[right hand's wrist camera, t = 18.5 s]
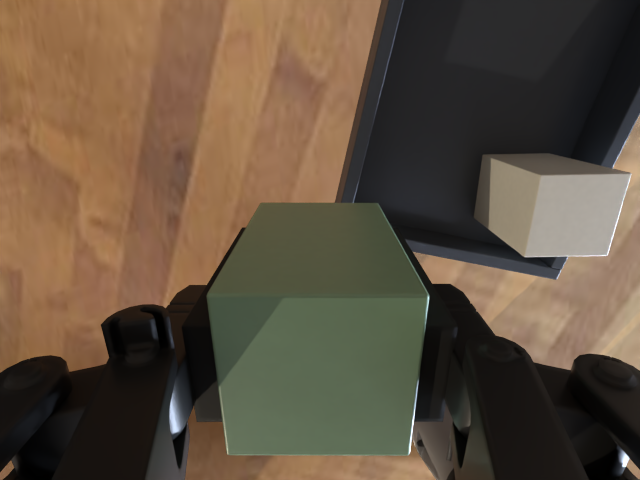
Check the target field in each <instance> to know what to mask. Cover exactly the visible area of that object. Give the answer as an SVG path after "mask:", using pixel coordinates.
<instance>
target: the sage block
mask: <svg viewBox="0 0 640 480" xmlns="http://www.w3.org/2000/svg"><path fill="white" fill-rule="evenodd" d="M207 303H208V311H209V319H210V327H211V335H212V342H213V350H214V358H215V366H216V374H217V382H218V389H219V397H220V405H221V413H222V421H223V429H224V436H225V444H226V452H227V454H228V455H409V454H410V448H411V440H412V432H413V424H414V416H415V408H416V400H417V392H418V384H419V376H420V368H421V360H422V352H423V344H424V336H425V328H426V319H427V311H428V303H429V294H428V292H427V290H426V288H425V287H424V285H423V283H422V281H421V280H420V278H419V276H418V274H417V272H416V271H415V269H414V267H413V265H412V263H411V262H410V260H409V258H408V256H407V254H406V253H405V251H404V249H403V247H402V245H401V244H400V242H399V240H398V238H397V236H396V235H395V233H394V231H393V229H392V227H391V226H390V224H389V222H388V220H387V219H386V217H385V215H384V213H383V211H382V210H381V208H380V206H379V204H378V203H260V205H259V207H258V208H257V210H256V212H255V213H254V215H253V217H252V218H251V220H250V222H249V224H248V225H247V227H246V229H245V230H244V232H243V234H242V235H241V237H240V239H239V241H238V242H237V244H236V246H235V247H234V249H233V251H232V253H231V254H230V256H229V258H228V259H227V261H226V263H225V264H224V266H223V268H222V270H221V271H220V273H219V275H218V276H217V278H216V280H215V281H214V283H213V285H212V287H211V288H210V290H209V292H208V293H207Z"/></svg>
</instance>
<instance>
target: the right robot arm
mask: <svg viewBox="0 0 640 480" xmlns="http://www.w3.org/2000/svg"><path fill="white" fill-rule="evenodd" d="M245 229H246V228H242V229H241V230H240V232H239V234H238V235H237V237H236V239H235V240H234V242H233V243H232V245H231V247H230V248H229V250H228V252H227V253H226V255H225V257H224V258H223V260H222V261H221V263H220V265H219V266H218V268H217V270H216V271H215V273H214V274H213V276H212V278H211V279H210V281H209V283H208V284H207V285H189V286H188V287H186V288H185V289H183V290H181V291H180V292H178V293H177V294H176V295H175V297H174V298H173V299H172V301H171V302H170V305H168V306H167V308H166V309H165V308H164V307H163V306H158V305H154V304H152V305H138V306H133V307H129V308H126V309H124V310H121V311H118V312H116V313H115V314H113V315H111V316H110V317H108V318H107V319H106V320H105V321H104V322H103V323H102V324H101V327H102V331H103V335H104V339H105V343H106V347H107V351H108V354H109V359H108V361H107V363H106V364H104V365H100V366H96V367H92V368H87V369H82V370H77V371H72V372H69V370H68V366H67V363H66V361H65V360H63V359H62V358H61V357H57V356H51V355H50V356H41V357H34V358H30V359H27V360H24V361H21V362H19V363H17V364H15V365H13V366H11V367H9V368H7V369H5V370H4V371H2V372H1V373H0V472H1V471H2V470H3V468H4V467H5V466H6V465H7V464H8V463H9V462H10V460H11V461H12V463H13V465H14V469H13V470H12V471H11V472H10V473H9V475H8V476H6V477H5V478H4V479H3V480H185V473H186V465H187V457H188V448H189V440H190V434H189V427H188V418H189V416H190V413H191V411H192V408H193V406H194V407H195V414H196V420H197V422H223V421H222V413H221V405H220V397H219V389H218V382H217V374H216V366H215V358H214V350H213V342H212V335H211V327H210V319H209V311H208V303H207V293H208V292H209V290H210V288H211V287H212V285H213V283H214V281H215V280H216V278H217V276H218V275H219V273H220V271H221V270H222V268H223V266H224V264H225V263H226V261H227V259H228V258H229V256H230V254H231V253H232V251H233V249H234V247H235V246H236V244H237V242H238V241H239V239H240V237H241V235H242V234H243V232H244V230H245ZM392 229H393V231H394V233H395V235H396V236H397V238H398V240H399V242H400V244H401V245H402V247H403V249H404V251H405V253H406V254H407V256H408V258H409V260H410V262H411V263H412V265H413V267H414V269H415V271H416V272H417V274H418V276H419V278H420V280H421V281H422V283H423V285H424V287H425V288H426V290H427V292H428V294H429V303H428V311H427V319H426V328H425V336H424V344H423V352H422V360H421V368H420V376H419V384H418V392H417V400H416V408H415V416H414V424H413V432H412V439H413V442H414V445H415V447H416V449H417V451H418V453H419V455H420V457H421V458H422V459H423V461H424V462H425V464H426V465H427V467H428V468H429V470H430V471H431V473H432V474H433V476H434V477H435V479H436V480H639V479H638V478H636V477H635V476H634V475H633V474H632V473H631V472H630V470H629V469H628V468H627V467H626V464H627V462H628V460H629V458H630V459H631V460H632V461H633V462H634V464H635V465H636V466H637V467H638V468H639V469H640V371H639V370H638V369H636V368H635V367H633V366H631V365H629V364H627V363H625V362H622V361H621V360H619V359H616V358H613V357H612V358H611V357H609V356H605V355H597V354H585V355H579V356H578V357H577V358H576V359H575V360H574V362H573V365H572V369H571V370H566V369H561V368H556V367H551V366H547V365H542V364H538V363H534V362H533V361H532V359H531V357H530V355H529V354H528V353H527V352H526V350H525V349H523V348H522V347H521V346H519V345H518V344H516V343H515V342H513V341H510V340H508V339H506V338H503V337H499V336H495V334H494V333H493V332H492V330H491V329H490V328H489V326H488V325H487V324H486V322H485V321H484V320H483V318H482V317H481V316H480V314H479V313H478V312H476V309H475V308H474V306H473V305H472V304H470V301H469V300H468V298H467V297H466V296H465V294H464V293H463V292H462V291H460V290H459V289H457V288H456V287H454V286H453V285H451V284H432V283H431V281H430V280H429V278H428V276H427V275H426V273H425V272H424V270H423V268H422V267H421V265H420V263H419V262H418V260H417V258H416V257H415V255H414V254H413V252H412V250H411V249H410V247H409V245H408V244H407V242H406V241H405V239H404V237H403V236H402V234H401V232H400V231H399V229H398V228H392Z"/></svg>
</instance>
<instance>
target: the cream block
mask: <svg viewBox="0 0 640 480" xmlns="http://www.w3.org/2000/svg"><path fill="white" fill-rule="evenodd" d="M630 177H631V173H629V172H625V171H621V170H616V169H612V168H608V167H604V166H600V165H596V164H591V163H587V162H583V161H579V160H575V159H570V158H566V157H562V156H558V155H554V154H550V153H539V154H488V155H482V162H481V169H480V177H479V184H478V191H477V198H476V205H475V212H474V218H475V219H476V220H477V221H479V222H480V223H481V224H482V225H484V226H485V227H486V228H488V229H489V230H490V231H491V232H493V233H494V234H495V235H497V236H498V237H499V238H500V239H502V240H503V241H504V242H506V243H507V244H508V245H509V246H511V247H512V248H513V249H515V250H516V251H517V252H518V253H520V254H521V255H522V256H524V257H560V256H607V255H608V252H609V248H610V245H611V241H612V238H613V235H614V231H615V228H616V224H617V221H618V218H619V214H620V211H621V207H622V204H623V201H624V197H625V194H626V190H627V187H628V184H629V180H630Z"/></svg>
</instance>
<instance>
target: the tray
mask: <svg viewBox="0 0 640 480" xmlns="http://www.w3.org/2000/svg"><path fill="white" fill-rule="evenodd" d="M639 114H640V0H381V5H380V9H379V13H378V18H377V22H376V27H375V31H374V35H373V40H372V44H371V48H370V53H369V57H368V61H367V66H366V70H365V74H364V79H363V83H362V87H361V92H360V96H359V100H358V105H357V109H356V113H355V118H354V122H353V126H352V131H351V135H350V139H349V144H348V148H347V152H346V157H345V161H344V165H343V170H342V174H341V178H340V183H339V187H338V191H337V196H336V200H335V203H378V204H379V206H380V208H381V210H382V211H383V213H384V215H385V217H386V219H387V220H388V222H389V224H390V226H391V227H392V228H398V229H399V231H400V232H401V234H402V236H403V237H404V239H405V241H406V242H407V244H408V245H409V247H410V249H411V250H412V252H417V253H422V254H427V255H433V256H438V257H443V258H448V259H453V260H458V261H463V262H468V263H473V264H478V265H484V266H489V267H494V268H499V269H504V270H509V271H514V272H519V273H524V274H530V275H535V276H540V277H545V278H550V279H555V280H556V279H557V278H558V276H559V274H560V272H561V269H562V268H563V266H564V264H565V262H566V260H567V258H568V256H560V257H524V256H522V255H521V254H520V253H518V252H517V251H516V250H515V249H513V248H512V247H511V246H509V245H508V244H507V243H506V242H504V241H503V240H502V239H500V238H499V237H498V236H497V235H495V234H494V233H493V232H491V231H490V230H489V229H488V228H486V227H485V226H484V225H482V224H481V223H480V222H479V221H477V220H476V219H475V218H474V212H475V205H476V198H477V191H478V184H479V177H480V169H481V162H482V155H488V154H539V153H550V154H554V155H558V156H562V157H566V158H570V159H575V160H579V161H583V162H587V163H591V164H596V165H600V166H604V167H608V168H613V166H614V164H615V162H616V160H617V158H618V156H619V154H620V152H621V150H622V148H623V146H624V144H625V142H626V140H627V138H628V136H629V134H630V132H631V130H632V128H633V126H634V124H635V122H636V120H637V118H638V116H639Z"/></svg>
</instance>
